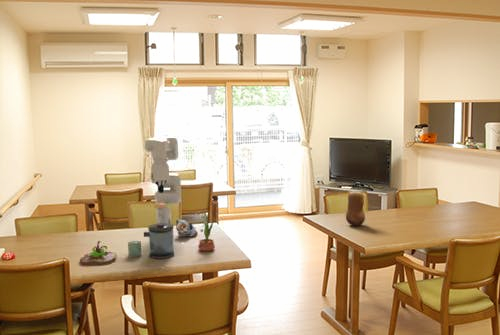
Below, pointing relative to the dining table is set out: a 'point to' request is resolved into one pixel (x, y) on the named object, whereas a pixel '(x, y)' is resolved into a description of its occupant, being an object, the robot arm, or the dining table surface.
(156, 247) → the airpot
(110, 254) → the plant
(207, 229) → the potted flower
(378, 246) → the dining table surface
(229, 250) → the dining table surface
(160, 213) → the push button
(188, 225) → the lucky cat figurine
